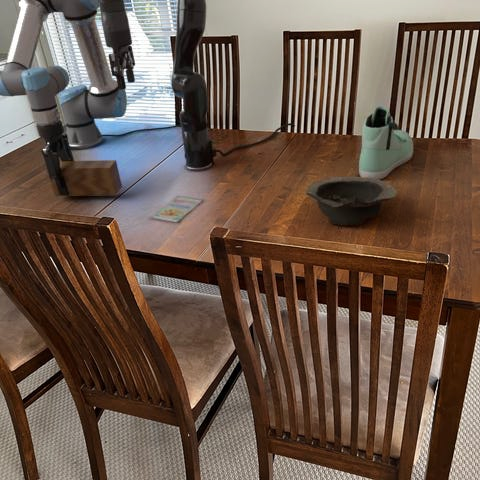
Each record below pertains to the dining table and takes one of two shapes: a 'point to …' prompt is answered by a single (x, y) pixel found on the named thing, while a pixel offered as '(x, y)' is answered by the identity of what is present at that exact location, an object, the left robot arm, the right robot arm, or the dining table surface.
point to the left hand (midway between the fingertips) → (68, 190)
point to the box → (89, 178)
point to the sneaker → (383, 145)
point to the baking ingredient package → (176, 209)
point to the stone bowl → (350, 198)
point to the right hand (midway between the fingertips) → (127, 85)
